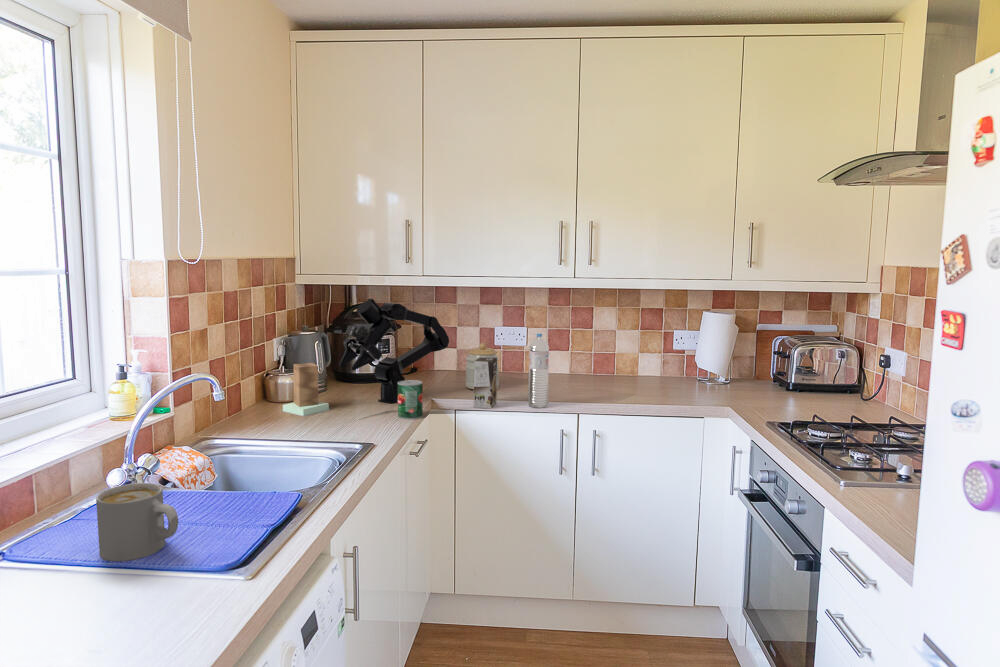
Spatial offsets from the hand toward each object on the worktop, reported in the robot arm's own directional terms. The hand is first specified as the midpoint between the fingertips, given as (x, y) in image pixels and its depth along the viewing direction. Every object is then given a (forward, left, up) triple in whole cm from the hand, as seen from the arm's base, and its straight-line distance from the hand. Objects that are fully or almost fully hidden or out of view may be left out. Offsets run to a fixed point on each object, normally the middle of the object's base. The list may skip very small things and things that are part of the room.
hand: (346, 367), depth 217 cm
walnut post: (+4, +14, -10) cm, 17 cm away
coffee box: (-34, -31, -14) cm, 49 cm away
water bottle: (-49, -41, -14) cm, 66 cm away
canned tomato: (-24, -4, -14) cm, 28 cm away
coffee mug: (-51, +94, -14) cm, 108 cm away
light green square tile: (+3, +14, -14) cm, 20 cm away
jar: (-16, -54, -14) cm, 58 cm away
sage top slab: (+3, +14, -12) cm, 19 cm away
